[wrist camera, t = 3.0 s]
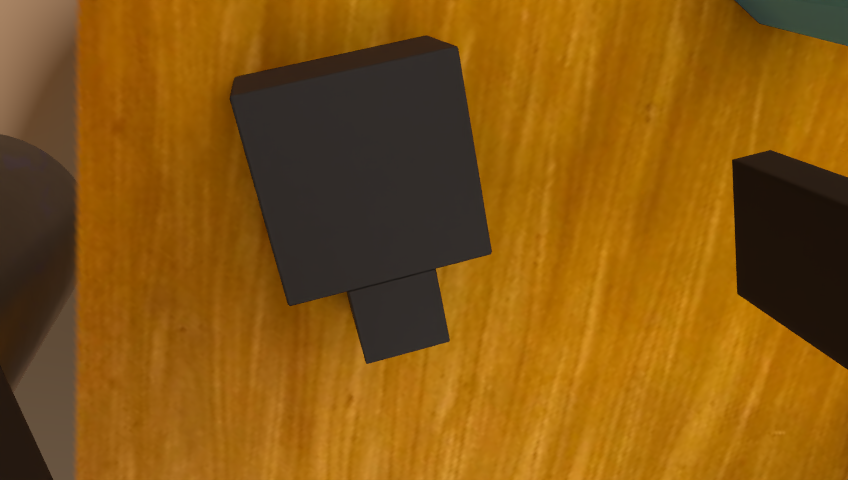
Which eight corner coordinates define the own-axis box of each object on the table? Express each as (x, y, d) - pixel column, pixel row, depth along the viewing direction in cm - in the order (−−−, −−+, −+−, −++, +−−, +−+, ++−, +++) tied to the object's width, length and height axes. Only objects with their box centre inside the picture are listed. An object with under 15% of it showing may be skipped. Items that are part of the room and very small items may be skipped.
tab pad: (302, 324, 29) (309, 380, 25) (233, 77, 26) (228, 96, 22) (471, 279, 30) (504, 326, 26) (427, 34, 27) (458, 45, 23)
